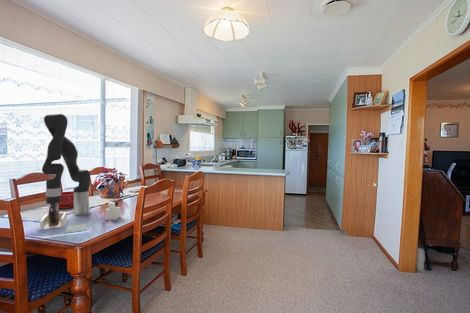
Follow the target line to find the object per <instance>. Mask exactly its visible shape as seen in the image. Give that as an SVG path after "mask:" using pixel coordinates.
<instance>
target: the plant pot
mask: <svg viewBox="0 0 470 313" xmlns="http://www.w3.org/2000/svg"><path fill="white" fill-rule="evenodd" d="M70 207H71V208H74V191H61V202H59V203H58V209H60V208H66V209H71V208H70Z"/></svg>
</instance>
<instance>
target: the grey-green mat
mask: <svg viewBox="0 0 470 313" xmlns="http://www.w3.org/2000/svg"><path fill="white" fill-rule="evenodd" d="M87 225H88V223H85V224H78V225H77V224H75V225H69V226H67V228H66V230H65V233H69V234H72V233H75V232H76V233H79V232H82V231H84V232H86V231H87V227H88V226H87Z"/></svg>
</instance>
